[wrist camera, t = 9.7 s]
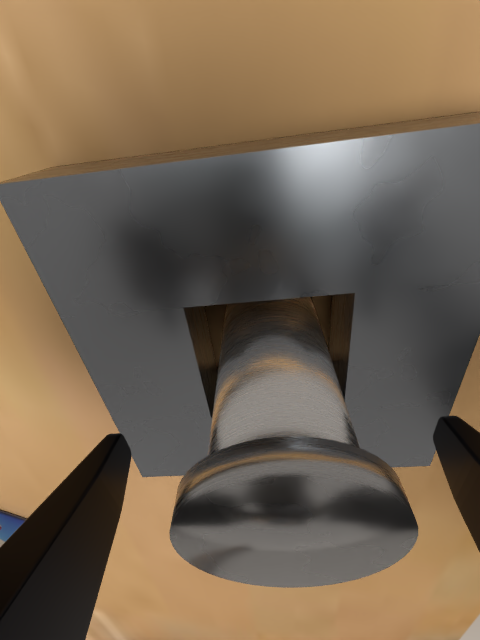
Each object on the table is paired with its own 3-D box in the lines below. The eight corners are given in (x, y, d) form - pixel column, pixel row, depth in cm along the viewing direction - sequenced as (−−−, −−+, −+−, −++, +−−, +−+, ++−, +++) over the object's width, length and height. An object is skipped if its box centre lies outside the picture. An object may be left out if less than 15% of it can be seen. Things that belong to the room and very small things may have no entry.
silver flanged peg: (331, 258, 12) (447, 471, 5) (326, 358, 15) (396, 586, 8) (201, 270, 13) (139, 482, 6) (220, 365, 16) (195, 588, 8)
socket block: (482, 111, 10) (563, 112, 7) (404, 414, 17) (430, 465, 15) (51, 167, 11) (-8, 185, 8) (156, 427, 19) (142, 476, 16)
